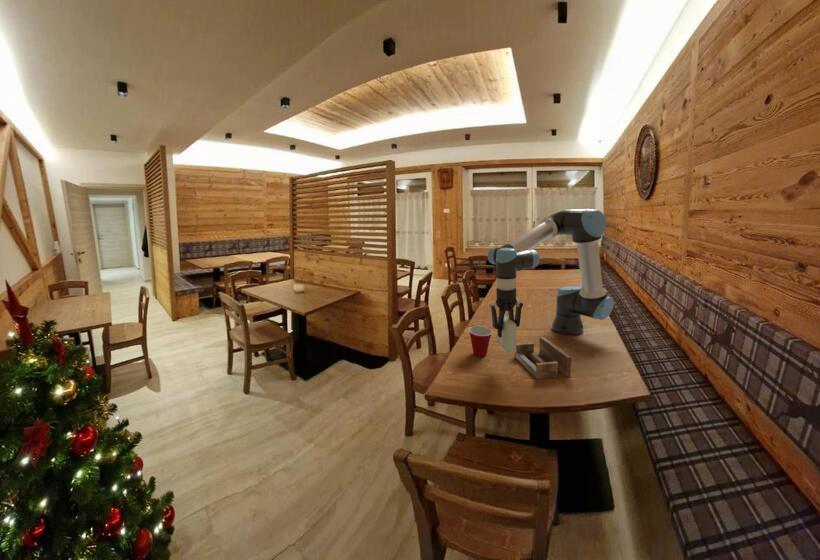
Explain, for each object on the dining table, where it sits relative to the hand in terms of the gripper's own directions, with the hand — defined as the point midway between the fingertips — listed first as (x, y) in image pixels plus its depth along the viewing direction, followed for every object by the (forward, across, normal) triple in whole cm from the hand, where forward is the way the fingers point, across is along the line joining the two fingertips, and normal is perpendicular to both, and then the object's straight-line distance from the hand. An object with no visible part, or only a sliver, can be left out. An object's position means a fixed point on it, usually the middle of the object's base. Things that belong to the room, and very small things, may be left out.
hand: (506, 343), depth 141 cm
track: (+12, -15, 0) cm, 19 cm away
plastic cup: (+12, +6, -16) cm, 20 cm away
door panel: (+2, 0, 0) cm, 2 cm away
